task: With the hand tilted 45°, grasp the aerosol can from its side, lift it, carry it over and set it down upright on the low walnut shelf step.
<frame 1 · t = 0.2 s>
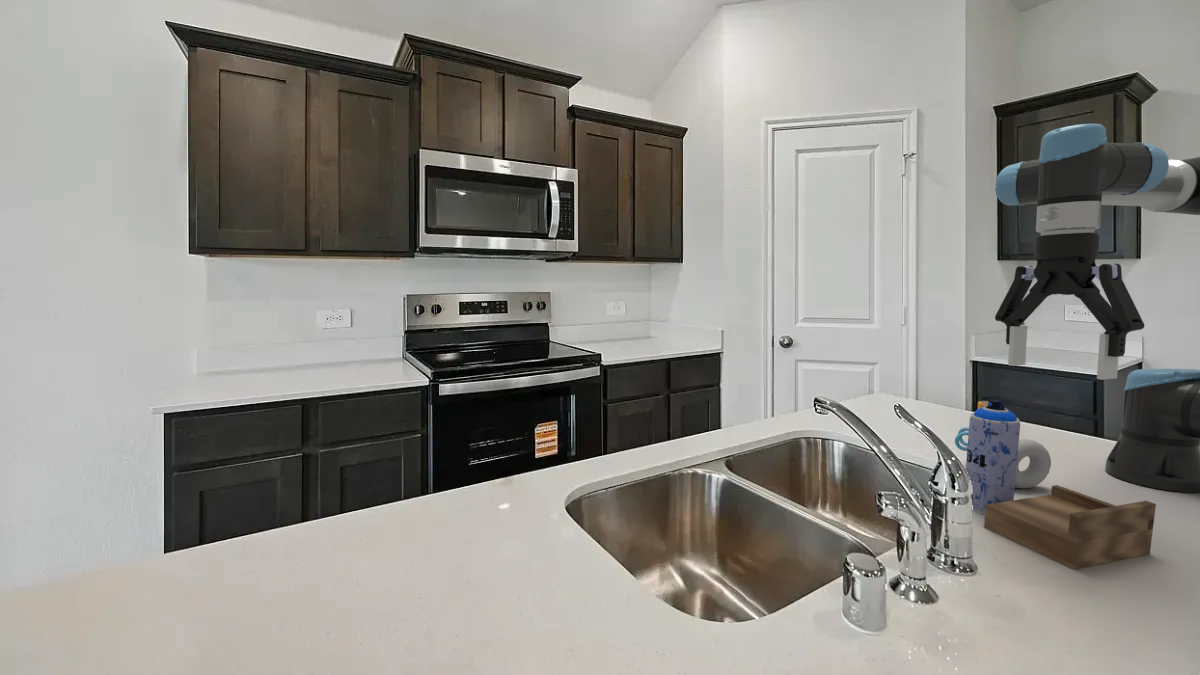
hand: (1058, 371, 87), 28 cm above the countertop, tool pointing down, fingers open, 13 cm apart
cylinder: (983, 472, 120), on the countertop
shelf step: (1062, 539, 90), on the countertop
aerosol can: (987, 508, 103), on the countertop
donut: (1021, 489, 111), on the countertop
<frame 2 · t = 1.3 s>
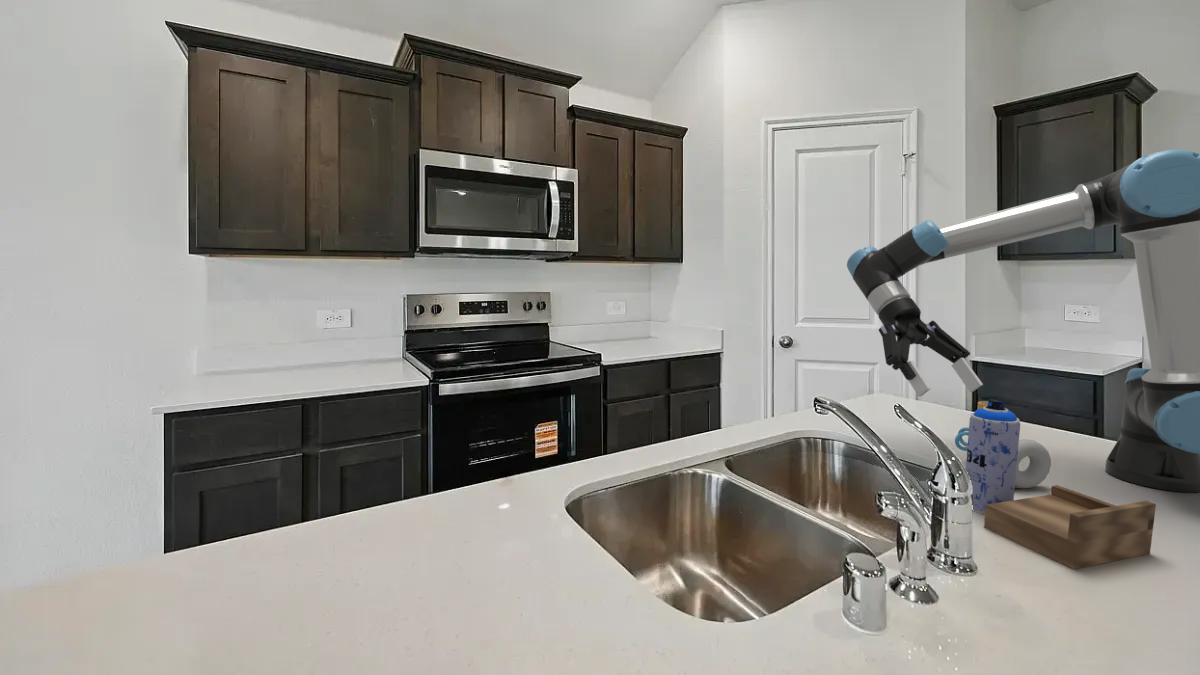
hand: (951, 390, 108), 20 cm above the countertop, tool tilted 45°, fingers open, 13 cm apart
nothing on the countertop moved.
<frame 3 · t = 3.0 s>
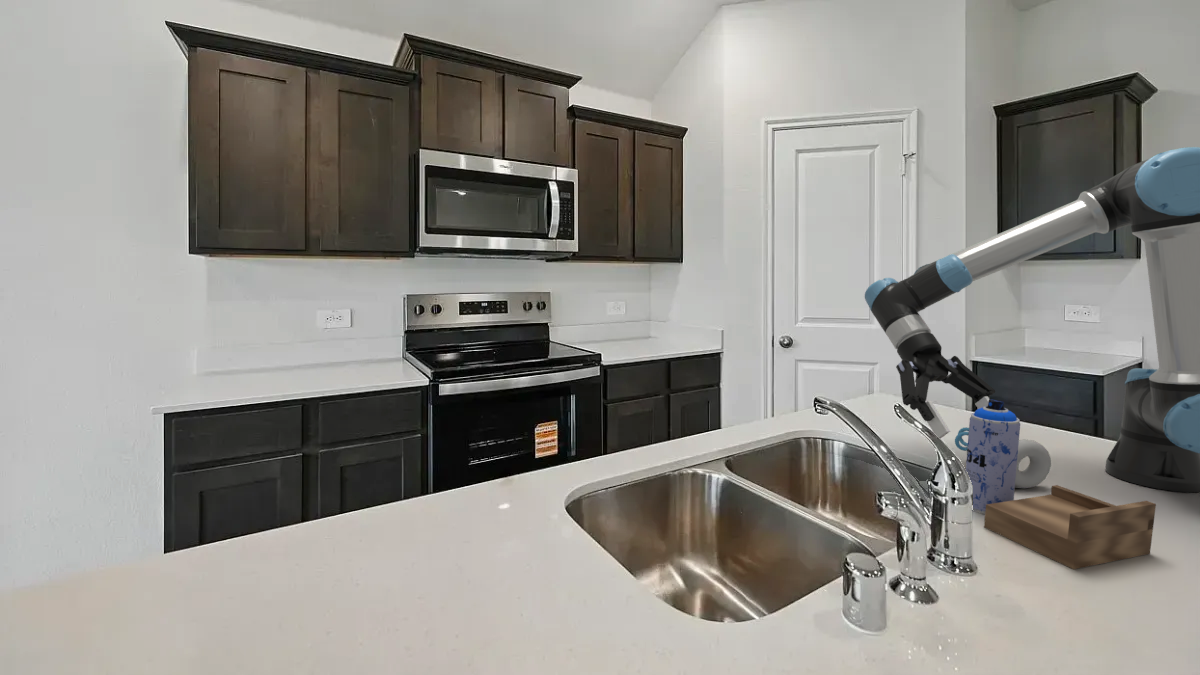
hand: (973, 432, 104), 13 cm above the countertop, tool tilted 45°, fingers open, 13 cm apart
nothing on the countertop moved.
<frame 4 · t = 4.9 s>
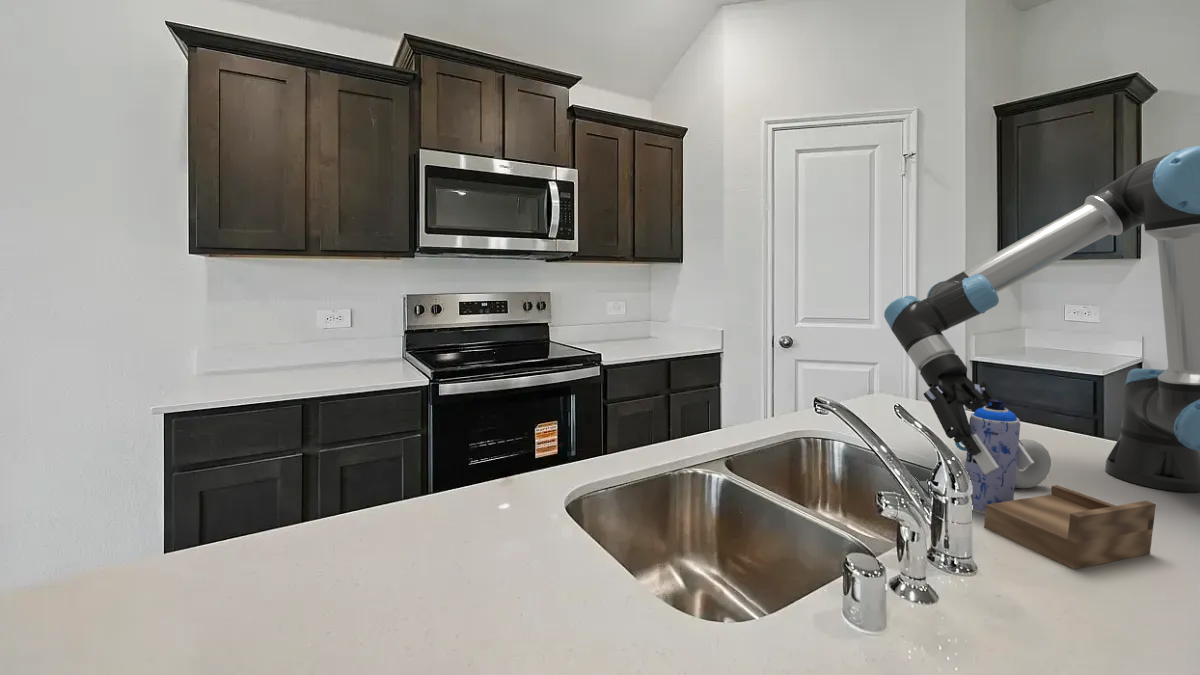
hand: (1009, 468, 98), 9 cm above the countertop, tool tilted 45°, fingers closed on aerosol can, 7 cm apart
aerosol can: (987, 508, 103), on the countertop, touching gripper
everything else where it was.
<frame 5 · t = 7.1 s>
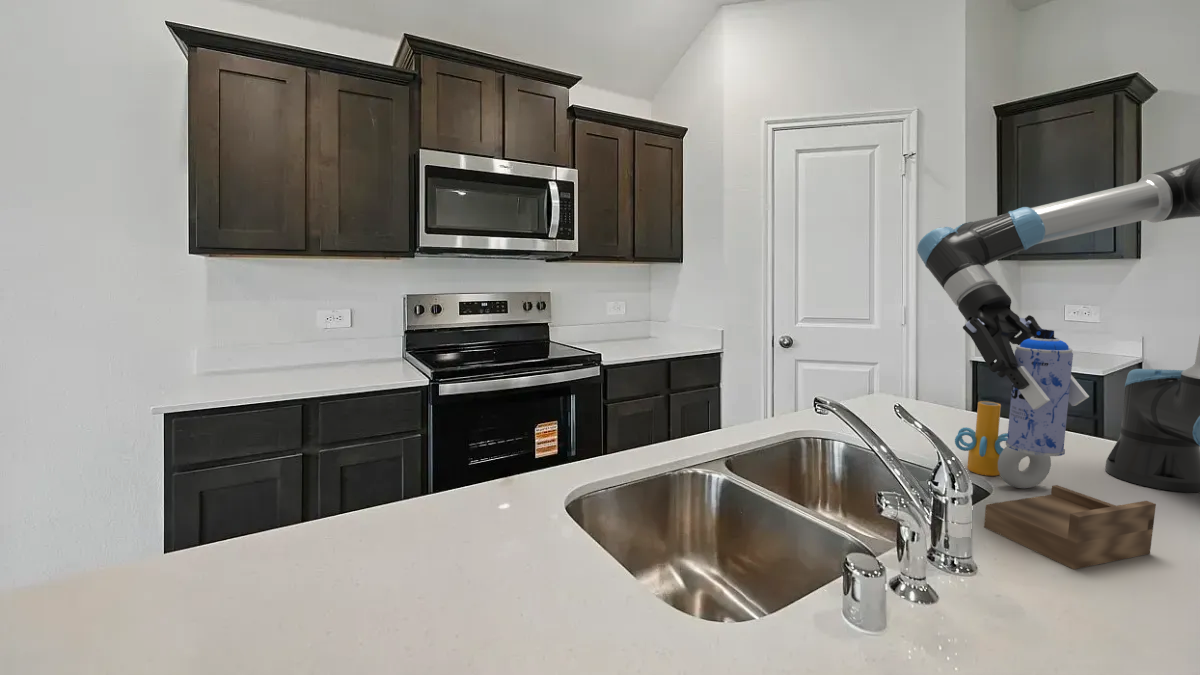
hand: (1061, 403, 89), 22 cm above the countertop, tool tilted 45°, fingers closed on aerosol can, 7 cm apart
aerosol can: (1034, 449, 93), point 13 cm above the countertop, touching gripper
everything else where it was.
when the fingers open (14 cm above the countertop, at t = 9.4 s): aerosol can drops 1 cm, resting on shelf step.
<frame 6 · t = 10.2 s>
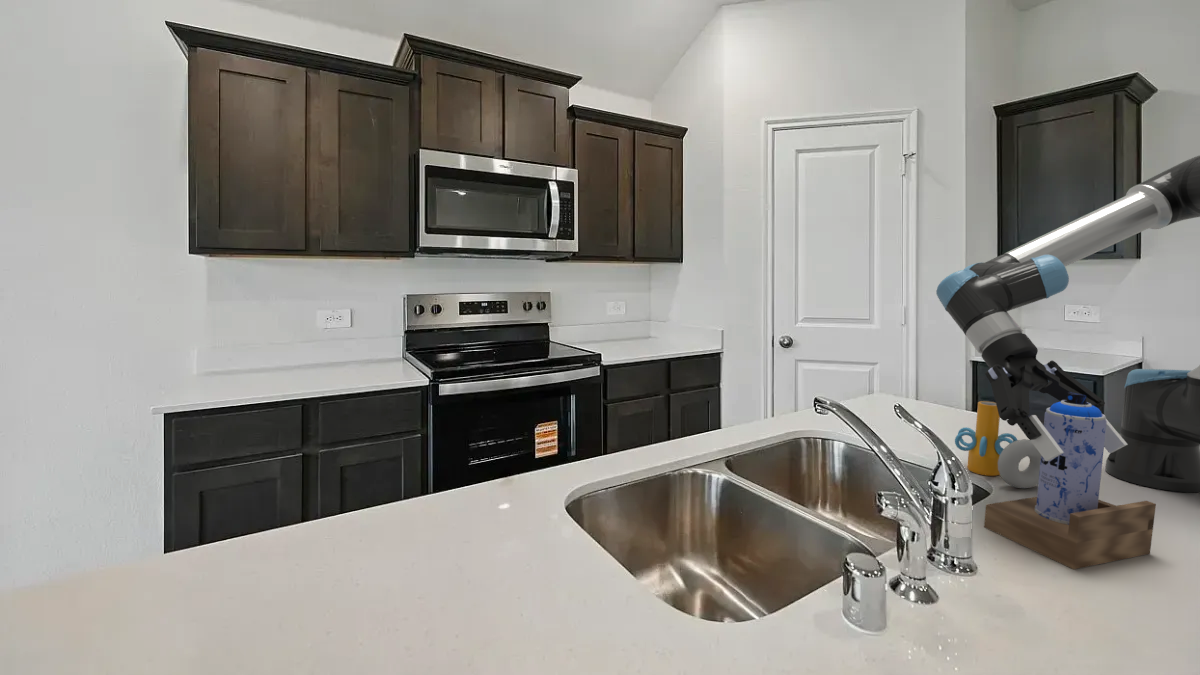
hand: (1087, 453, 86), 15 cm above the countertop, tool tilted 45°, fingers open, 13 cm apart
aerosol can: (1065, 516, 90), point 4 cm above the countertop, touching shelf step
everything else where it was.
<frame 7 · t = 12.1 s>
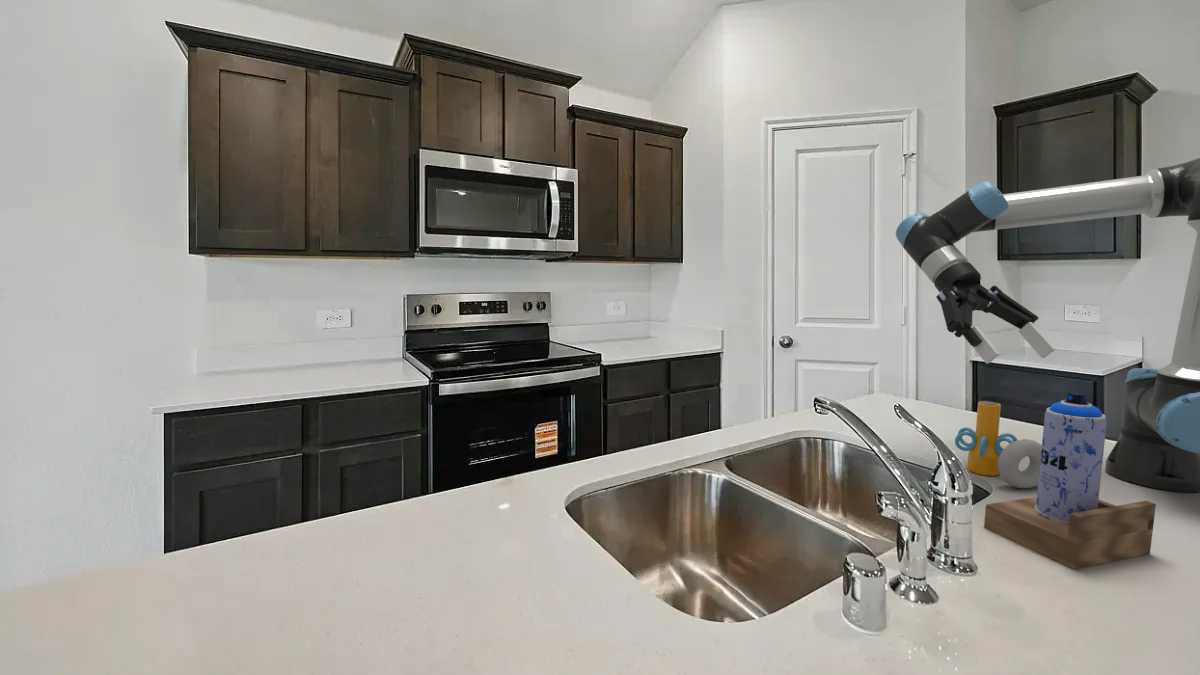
hand: (1021, 356, 101), 28 cm above the countertop, tool tilted 45°, fingers open, 13 cm apart
nothing on the countertop moved.
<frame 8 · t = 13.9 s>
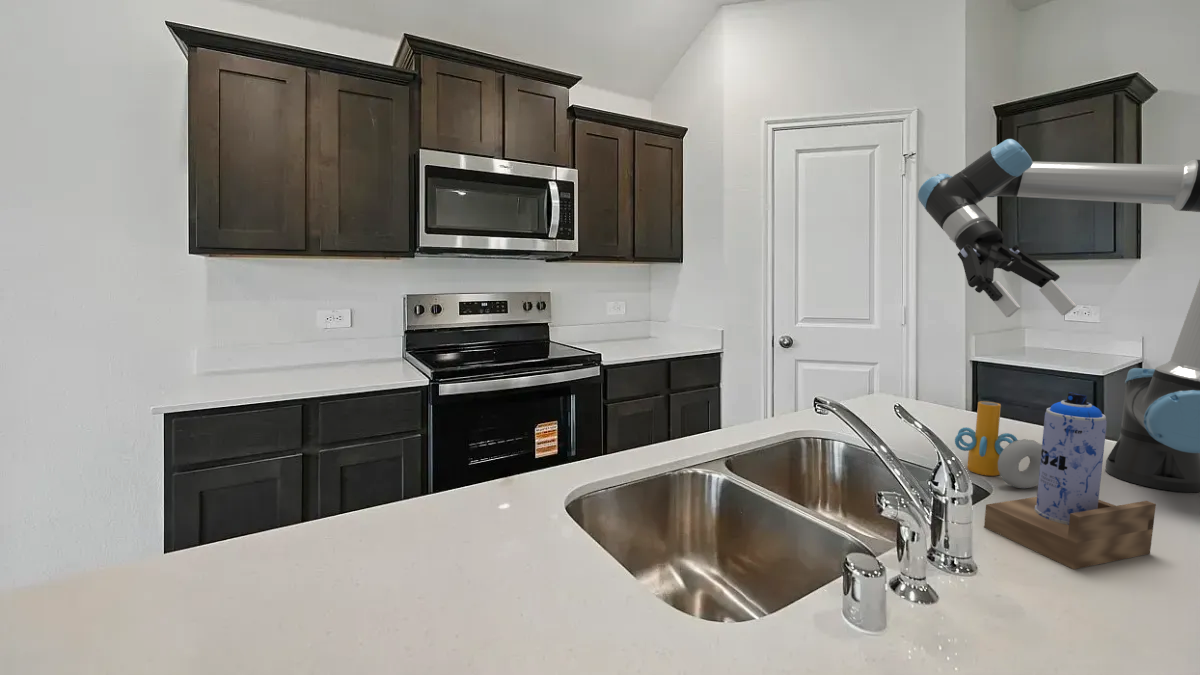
hand: (1042, 311, 102), 36 cm above the countertop, tool tilted 45°, fingers open, 13 cm apart
nothing on the countertop moved.
at the end: aerosol can inside the target area on the shelf step (0.1 cm from its centre), point 3.8 cm above the shelf step's base; aerosol can tilted 0°; the gripper is holding nothing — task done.
